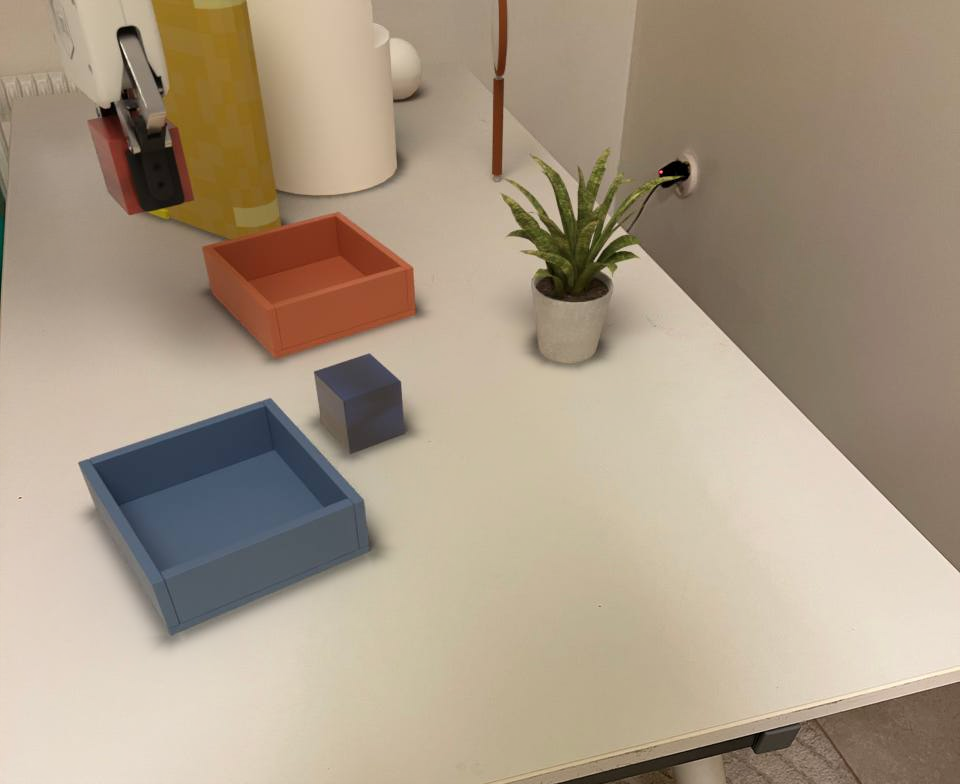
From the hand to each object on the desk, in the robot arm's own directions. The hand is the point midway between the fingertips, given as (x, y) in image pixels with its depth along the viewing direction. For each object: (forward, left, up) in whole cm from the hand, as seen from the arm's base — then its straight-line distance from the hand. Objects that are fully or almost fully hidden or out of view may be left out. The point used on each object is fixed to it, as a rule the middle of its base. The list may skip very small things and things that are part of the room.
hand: (149, 190), depth 67 cm
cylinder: (+31, +36, -16) cm, 50 cm away
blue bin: (-6, -21, -16) cm, 27 cm away
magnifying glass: (+46, +21, -16) cm, 53 cm away
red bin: (+14, +6, -16) cm, 22 cm away
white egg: (+50, +54, -16) cm, 75 cm away
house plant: (+31, -14, -16) cm, 38 cm away
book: (+14, +29, -16) cm, 36 cm away
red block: (0, 0, 0) cm, 0 cm away
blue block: (+8, -15, -16) cm, 23 cm away
